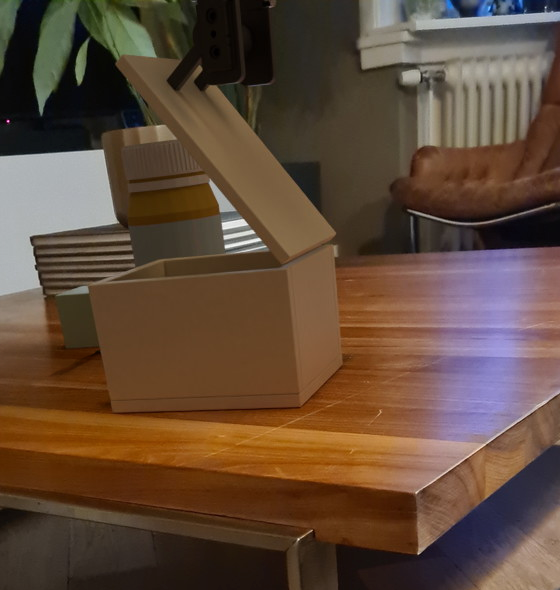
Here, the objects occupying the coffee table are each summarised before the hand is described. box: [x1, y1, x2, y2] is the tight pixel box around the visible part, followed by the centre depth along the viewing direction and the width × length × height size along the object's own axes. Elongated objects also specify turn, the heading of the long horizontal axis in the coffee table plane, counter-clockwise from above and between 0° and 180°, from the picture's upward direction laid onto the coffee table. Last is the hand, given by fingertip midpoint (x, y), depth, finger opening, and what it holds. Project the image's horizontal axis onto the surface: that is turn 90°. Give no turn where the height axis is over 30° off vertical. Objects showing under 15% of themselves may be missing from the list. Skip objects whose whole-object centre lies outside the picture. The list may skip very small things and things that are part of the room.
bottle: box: [120, 138, 227, 268], centre depth 70 cm, size 7×7×15 cm
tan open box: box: [87, 243, 344, 414], centre depth 59 cm, size 13×11×8 cm
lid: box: [115, 21, 337, 265], centre depth 53 cm, size 13×11×5 cm
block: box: [54, 285, 101, 353], centre depth 79 cm, size 5×5×5 cm
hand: (242, 83), depth 52 cm, fingers closed on lid, 5 cm apart
